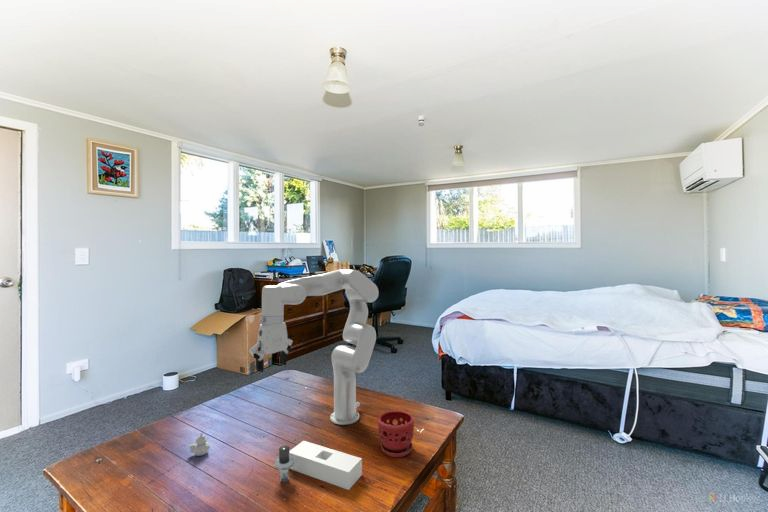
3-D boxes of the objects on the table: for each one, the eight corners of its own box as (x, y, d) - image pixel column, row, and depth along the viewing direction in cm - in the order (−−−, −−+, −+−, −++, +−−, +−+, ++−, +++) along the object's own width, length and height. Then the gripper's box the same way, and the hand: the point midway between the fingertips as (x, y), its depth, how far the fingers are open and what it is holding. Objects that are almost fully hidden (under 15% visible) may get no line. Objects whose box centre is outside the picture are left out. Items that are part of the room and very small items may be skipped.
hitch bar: (303, 455, 123) (303, 440, 123) (361, 474, 112) (361, 458, 112) (287, 468, 116) (287, 452, 116) (348, 490, 105) (348, 472, 105)
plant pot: (417, 443, 130) (417, 412, 130) (408, 463, 118) (408, 428, 118) (384, 437, 135) (384, 407, 135) (372, 456, 122) (372, 422, 122)
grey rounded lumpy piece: (207, 457, 122) (207, 435, 122) (186, 460, 120) (186, 437, 120) (211, 449, 127) (211, 427, 127) (191, 451, 125) (191, 429, 125)
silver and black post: (283, 471, 114) (283, 441, 114) (297, 476, 111) (297, 446, 111) (270, 482, 108) (270, 450, 108) (284, 488, 106) (284, 455, 106)
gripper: (257, 324, 114) (256, 376, 114) (298, 318, 128) (297, 364, 128) (244, 321, 119) (243, 371, 119) (285, 315, 133) (285, 360, 133)
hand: (271, 367), depth 123 cm, fingers open, 9 cm apart
